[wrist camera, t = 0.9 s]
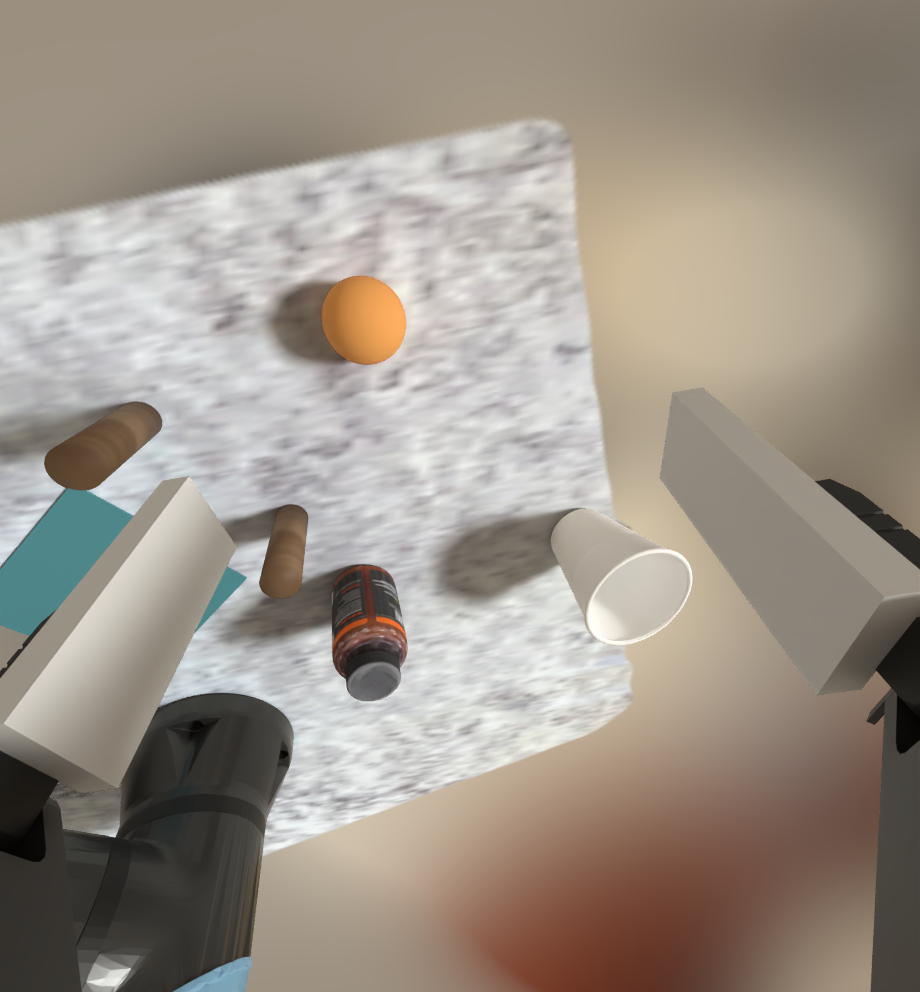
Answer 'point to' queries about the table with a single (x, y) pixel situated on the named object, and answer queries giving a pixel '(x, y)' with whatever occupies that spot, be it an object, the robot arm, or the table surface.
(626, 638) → the cup
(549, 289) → the table surface
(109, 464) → the post left
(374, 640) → the supplement bottle
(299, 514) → the post right
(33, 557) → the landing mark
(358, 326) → the ball
